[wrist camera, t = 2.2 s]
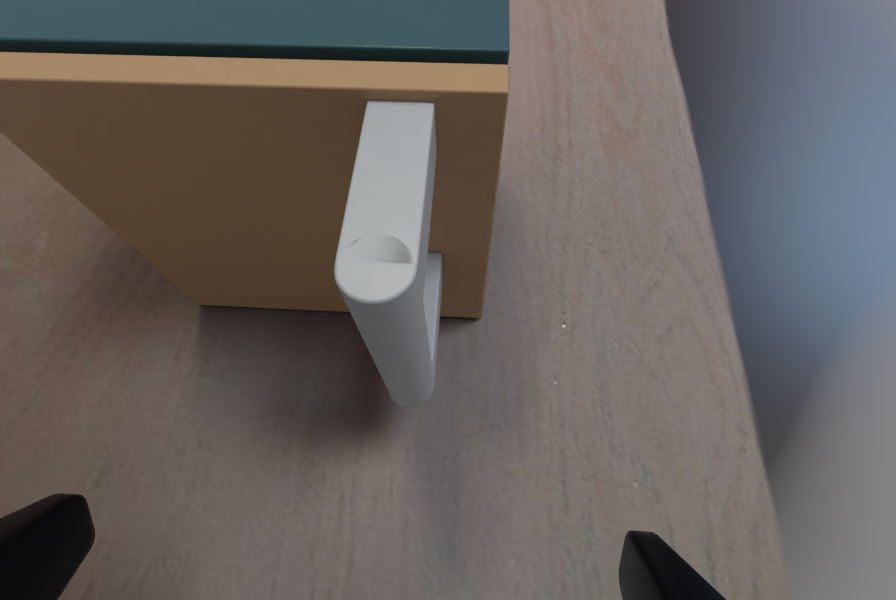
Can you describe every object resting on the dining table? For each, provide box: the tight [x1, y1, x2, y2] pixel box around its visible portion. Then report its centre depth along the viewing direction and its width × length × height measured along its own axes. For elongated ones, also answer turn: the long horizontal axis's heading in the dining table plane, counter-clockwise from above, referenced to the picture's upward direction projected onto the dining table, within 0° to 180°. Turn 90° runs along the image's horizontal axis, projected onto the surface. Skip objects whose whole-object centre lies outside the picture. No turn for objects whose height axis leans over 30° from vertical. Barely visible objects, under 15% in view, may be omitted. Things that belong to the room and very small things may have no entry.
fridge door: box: [0, 52, 509, 408], centre depth 15 cm, size 6×14×12 cm, turn 87°
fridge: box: [0, 0, 509, 65], centre depth 19 cm, size 10×14×13 cm
